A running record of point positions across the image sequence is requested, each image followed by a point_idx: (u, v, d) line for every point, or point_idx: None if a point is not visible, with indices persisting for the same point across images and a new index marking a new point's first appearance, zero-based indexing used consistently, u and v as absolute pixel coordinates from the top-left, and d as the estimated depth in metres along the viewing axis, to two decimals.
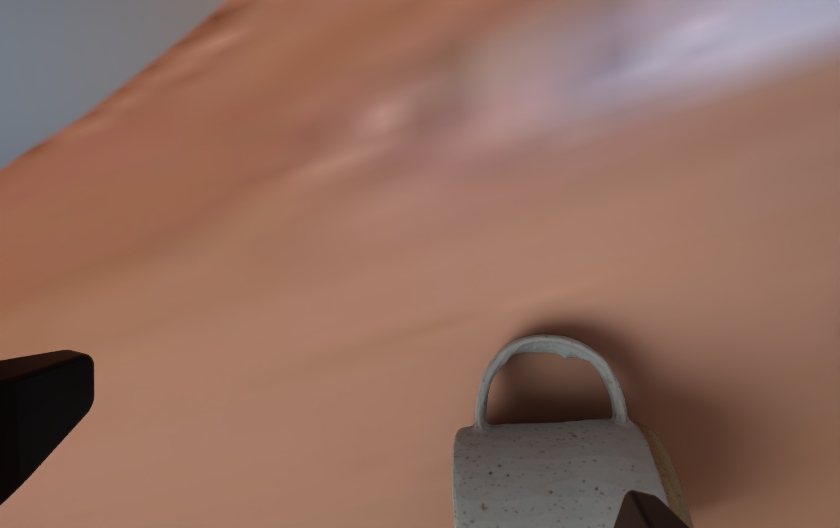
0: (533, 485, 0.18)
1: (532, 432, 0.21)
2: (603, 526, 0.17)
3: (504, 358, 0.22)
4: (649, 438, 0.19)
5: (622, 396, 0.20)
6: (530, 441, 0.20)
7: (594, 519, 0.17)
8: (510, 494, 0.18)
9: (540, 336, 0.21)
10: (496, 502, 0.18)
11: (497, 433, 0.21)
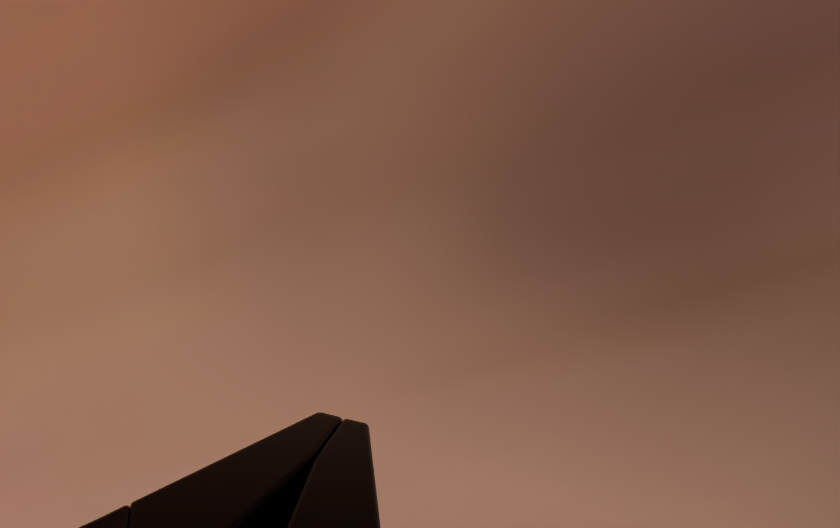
0: None
1: None
2: None
3: None
4: None
5: None
6: None
7: None
8: None
9: None
10: None
11: None
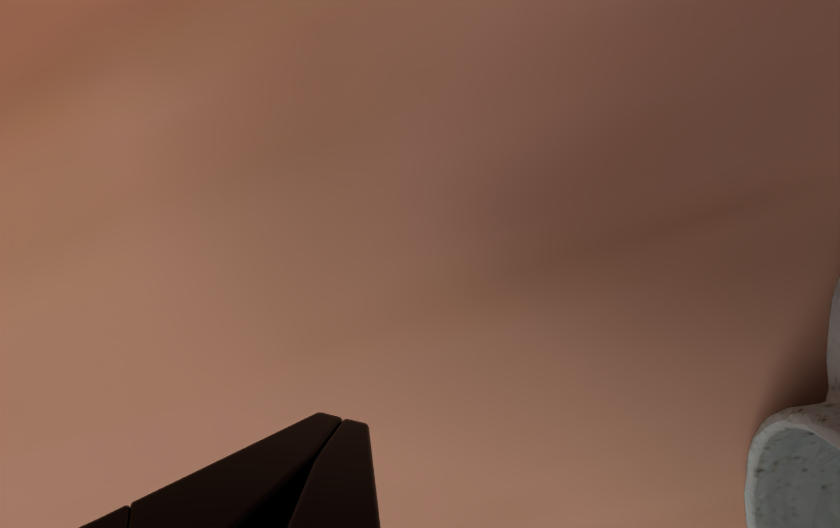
0: None
1: None
2: None
3: None
4: None
5: None
6: None
7: None
8: None
9: None
10: None
11: None
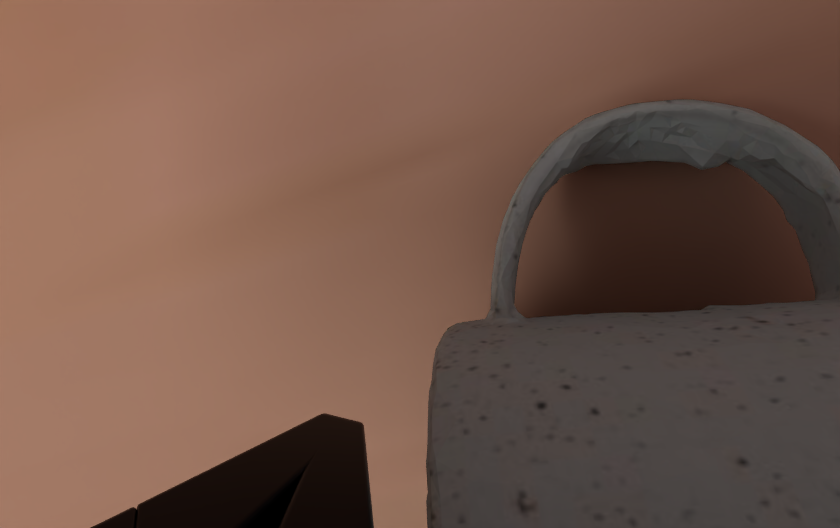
0: (680, 441, 0.06)
1: (638, 319, 0.08)
2: None
3: (565, 154, 0.09)
4: None
5: None
6: (642, 334, 0.07)
7: None
8: (608, 467, 0.06)
9: (653, 102, 0.09)
10: (565, 491, 0.06)
11: (548, 323, 0.08)
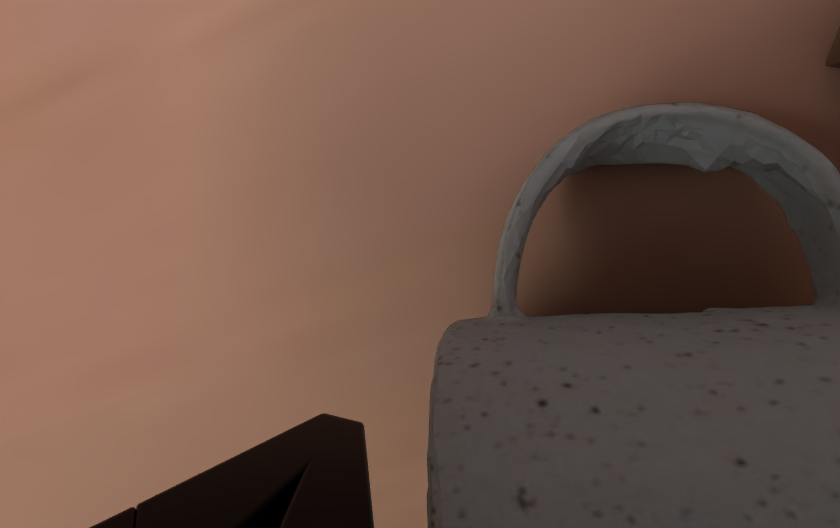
0: (679, 440, 0.06)
1: (639, 320, 0.08)
2: None
3: (569, 155, 0.09)
4: None
5: None
6: (642, 334, 0.08)
7: None
8: (607, 464, 0.06)
9: (658, 104, 0.09)
10: (563, 488, 0.06)
11: (549, 322, 0.08)
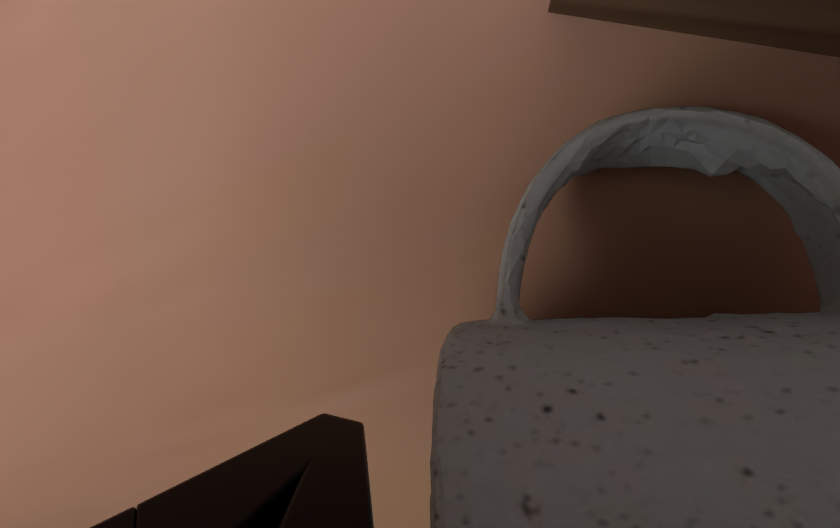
0: (685, 449, 0.06)
1: (644, 325, 0.08)
2: None
3: (576, 157, 0.09)
4: None
5: None
6: (648, 340, 0.08)
7: None
8: (614, 473, 0.06)
9: (666, 107, 0.09)
10: (568, 495, 0.06)
11: (553, 326, 0.08)
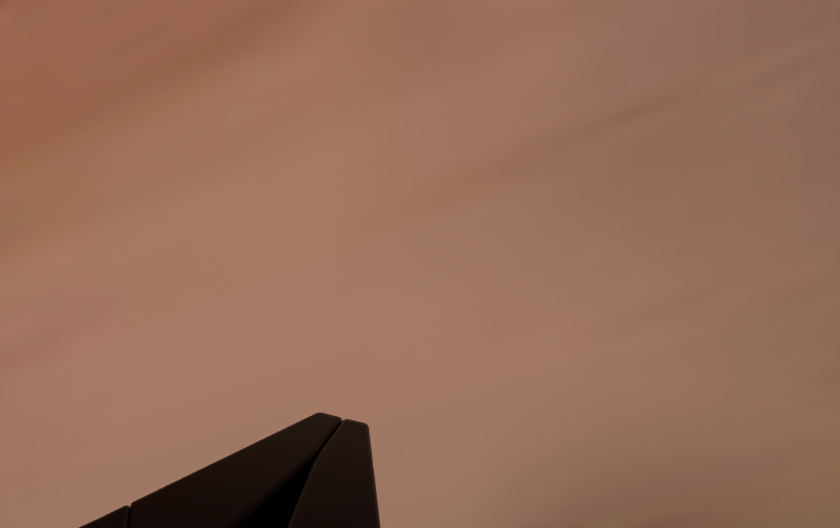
0: None
1: None
2: None
3: None
4: None
5: None
6: None
7: None
8: None
9: None
10: None
11: None
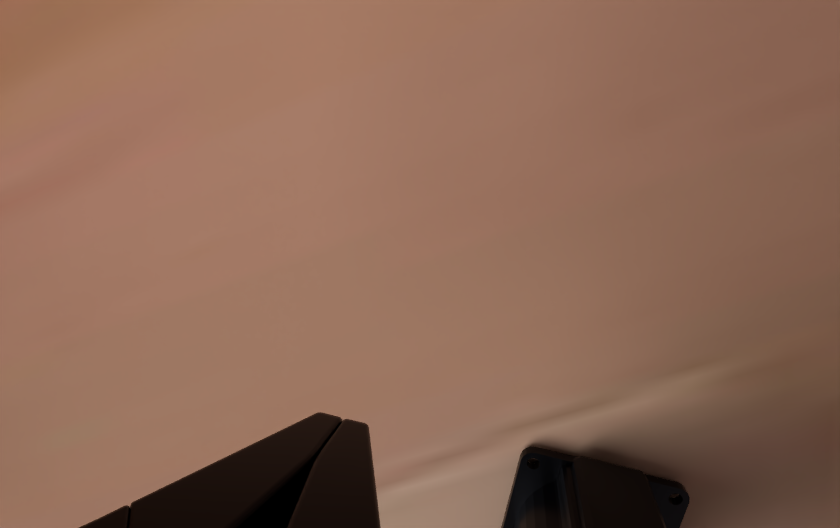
0: None
1: None
2: None
3: None
4: None
5: None
6: None
7: None
8: None
9: None
10: None
11: None
